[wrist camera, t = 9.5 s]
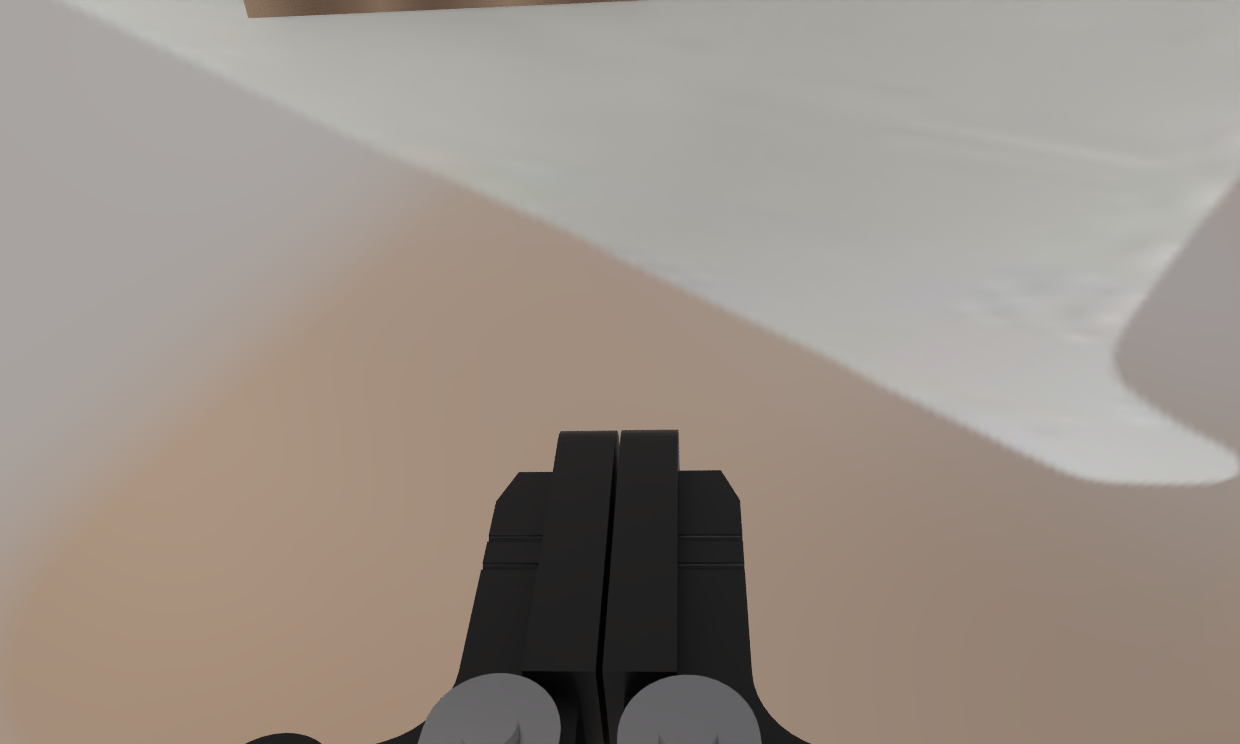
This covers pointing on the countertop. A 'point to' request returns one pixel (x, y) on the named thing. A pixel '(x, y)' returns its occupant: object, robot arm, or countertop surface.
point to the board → (379, 6)
